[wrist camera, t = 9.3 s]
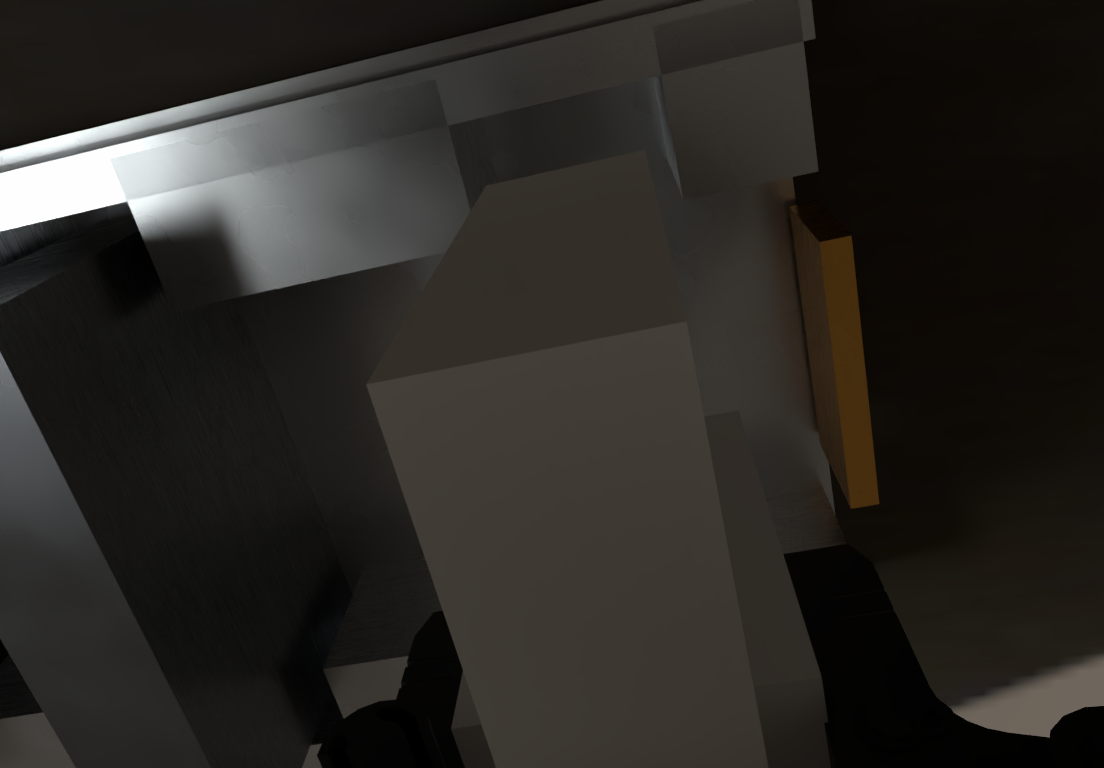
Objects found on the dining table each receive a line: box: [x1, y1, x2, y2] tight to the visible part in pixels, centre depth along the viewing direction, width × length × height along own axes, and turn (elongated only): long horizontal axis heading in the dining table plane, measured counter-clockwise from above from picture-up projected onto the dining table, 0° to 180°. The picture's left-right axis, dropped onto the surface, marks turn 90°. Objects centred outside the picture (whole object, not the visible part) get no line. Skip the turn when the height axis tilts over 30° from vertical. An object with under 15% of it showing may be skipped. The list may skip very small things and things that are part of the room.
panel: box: [366, 150, 769, 768], centre depth 13 cm, size 3×12×8 cm, turn 13°
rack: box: [0, 0, 879, 768], centre depth 20 cm, size 29×16×9 cm, turn 103°
